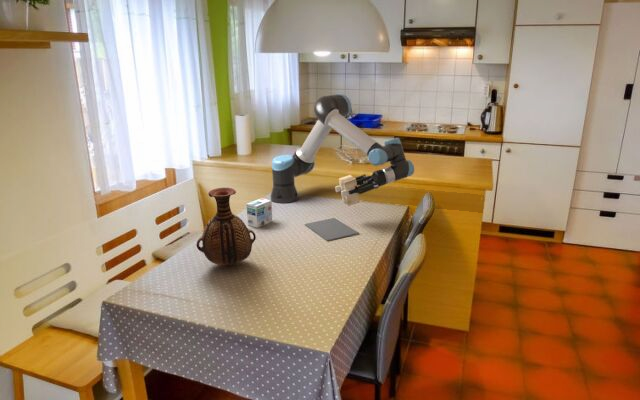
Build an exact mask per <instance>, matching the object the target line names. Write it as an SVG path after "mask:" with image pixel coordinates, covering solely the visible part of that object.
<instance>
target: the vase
mask: <svg viewBox="0 0 640 400" xmlns="http://www.w3.org/2000/svg"><path fill="white" fill-rule="evenodd" d="M236 193H237V191H236V190H235V188H232V187H217V188H213V189H211V190H209V192H208V196H209V198H214V199H215V202H216V213H215V215H214V216H212V217H211V218H210V219H209V220H208V221H207V223H206V224H205V226H204V229H203V231H202V235H201V236H200V237H199V238H198V239H197V241H196V249H197V250H198V251H199V252H201V253H202V254H204V256H205V258H206V259H207V260H208V261H209V262H211V263H212V264H215V265H221V266H227V267H228V266H229V267H230V266H232V265H233V264H237V263H240V262H242V261H244V260H246V259H248V258H249V256H250V255H251V252H252V247H253V244H254V242H255V241H256V239H257V236H256V233H255V232H254V231H253V230H252V229H251V228H249V227H247V225H246V223H245V222H244V220H243V219H242V218H241V217H239V216H238V215H236V214H234V213H232V210H231V205H230V204H231V203H230V198H231V196H233V195H236ZM251 234H252V236H253V237H252V236H251ZM201 241H202V242H201ZM200 243H202V246H200Z"/></svg>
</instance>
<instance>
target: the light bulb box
mask: <svg viewBox="0 0 640 400" xmlns="http://www.w3.org/2000/svg"><path fill="white" fill-rule="evenodd" d="M272 202H273V201H271V199H266V198H263V197H262V198H258V199H256V200H253V201H250V202H248V203H246V215H247V225H248V226H249V227H253V228H256V229H258V228H261V227H262V226H265V225H268V224H270V222H271V223H273V207H272V206H273V205H272Z"/></svg>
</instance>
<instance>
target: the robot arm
mask: <svg viewBox="0 0 640 400" xmlns="http://www.w3.org/2000/svg"><path fill="white" fill-rule="evenodd" d="M351 103H352V102H351V100H350V99H349V97H348V96H347V95H346V94H343V93H335V94H329V95H322V96H320V97H319V98H318V99H316V101H315V103H314V105H313V112H314V115H315V117H316V118H317V120H316V123H315V124H314V125H313V127H312V129H311V130H310V132H309V133H308V136H307V137H306V138H305V140H304V142H303V144H302V146H301V147H298V148H296V150H295V151H294V154H292V155H291V154H282V155H278V156H275V157H274V158H273V159H272V161H271V171H272V172H271V173H272V174H271V175H272V189H271V192H270V200H271V201H272V202H274V203H276V204H277V203H278V204H288V203H293V202H297V201H298V200H299V193H298V190H297V187H296V184H295V178H296V177H300V176H303V175H307V174H309V173H311V172H312V171H313V170H314V168H315V165H316V163H315V162H316V161H315V160H316V157H315V156H316V154H317V153H318V152H319V150H320V148H321V146H322V145H323V143H324V141H325V140H326V139H327V138H328V135H329V134H330V133H331V131H332V129H333V131H335V132H336V133H338V134H339V135H340V136H342V137H343V138H344V139H345V140H347V141H349V142H350V143H351V144H352V145H353V146H354V147H356V148H357V149H359V150H360V151H361V152H363V153H364V154H365V155H366V156H368V158H367V159H368V161H369V163H370V164H371V165H372V166H375V167H376V166H377V167H378V166H381V165H385V164H386V163H389V164H390V166H386V167H384V168H381V169H378V170H374V171H373V172H372V174H371V175H367V174H366V173H364V174H362V175H360V176H355V178H356V182H357V186H355V188H354V187H353V188H350V189H347V190H344V191H341V189H340V184H339V185H336V186H334V188H335V192H336V193H339V192H340V194H341V198H342V197H345V196H348V195H351V194H354V193H358V195H362V194H364V193H367V192H369V191H372V190H375V189H378V188H379V187H382V186H385V185H388V184H391V183H393V182H397V181H400V180H403V179H405V178H409V177H410V176H412V175H414V173H415V165H414V164H413V162H412V161H411V160H407V159H406V156H405V152H404V148H403V144H402V141H401V139H400V137H395V138H391V139H389V140H386V141H384V145H381V144H380V143H379V142H377V141H376V140H375V139H373V138H372V137H371V136H370V135H369V134H367V133H366V132H364V131H363V130H362V129H361V128H360V127H358V126H357V125H355V124H353V123H352V122H351V120H349V119H347V118H346V117H347V116H348V115H349V114H350V113H351V110H352V105H351Z"/></svg>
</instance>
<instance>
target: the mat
mask: <svg viewBox="0 0 640 400" xmlns="http://www.w3.org/2000/svg"><path fill="white" fill-rule="evenodd" d="M304 226H305V227H306V228H308V229H309V230H310V231H312V232H314V233H315V234H316V235H318V236H319V237H320V238H322V239H324V241H326V242H331V241H335V240H338V239H343V238H348V237H352V236H356V235H360V232H359V231H358V230H357V231H356V229H354V228H352V227H351V226H349V225H346V224H345V223H344V222H342V221H341V220H339V219H337V218H336V217H332V218H331V217H330V218H327V219H323V220H317V221H312V222H306V223H304Z"/></svg>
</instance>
